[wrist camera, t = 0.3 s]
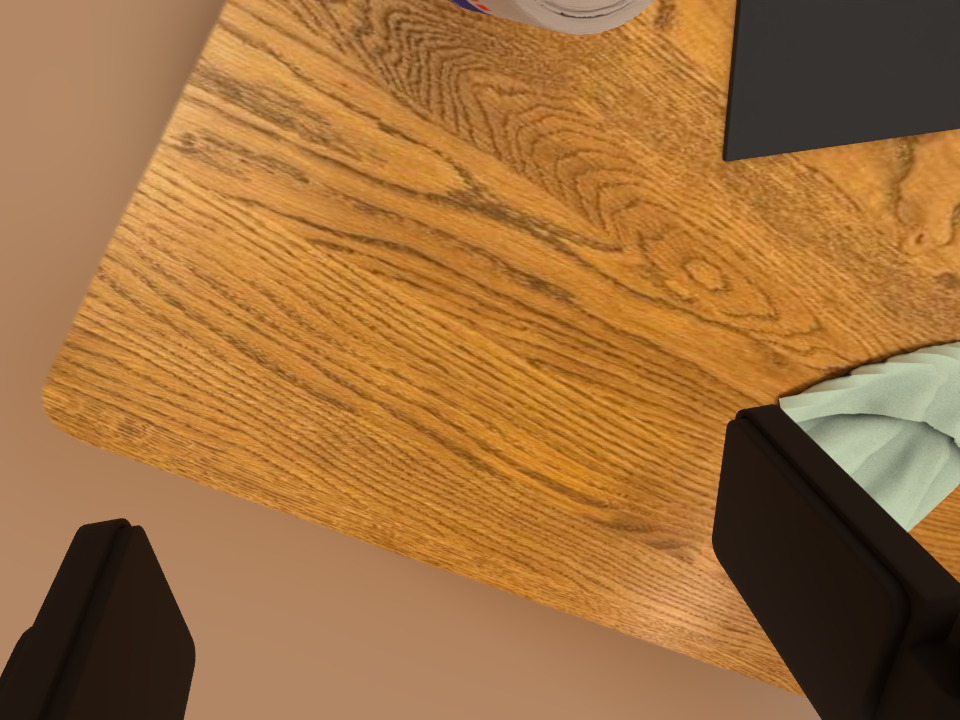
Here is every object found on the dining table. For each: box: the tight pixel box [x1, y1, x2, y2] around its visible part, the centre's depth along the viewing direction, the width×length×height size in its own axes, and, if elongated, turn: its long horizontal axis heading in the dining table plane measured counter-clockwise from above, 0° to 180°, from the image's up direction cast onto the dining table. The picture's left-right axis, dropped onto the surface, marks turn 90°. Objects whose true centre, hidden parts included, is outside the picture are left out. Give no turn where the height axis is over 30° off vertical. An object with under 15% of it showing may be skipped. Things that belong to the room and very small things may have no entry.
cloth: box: [779, 342, 960, 532], centre depth 47 cm, size 20×22×2 cm
